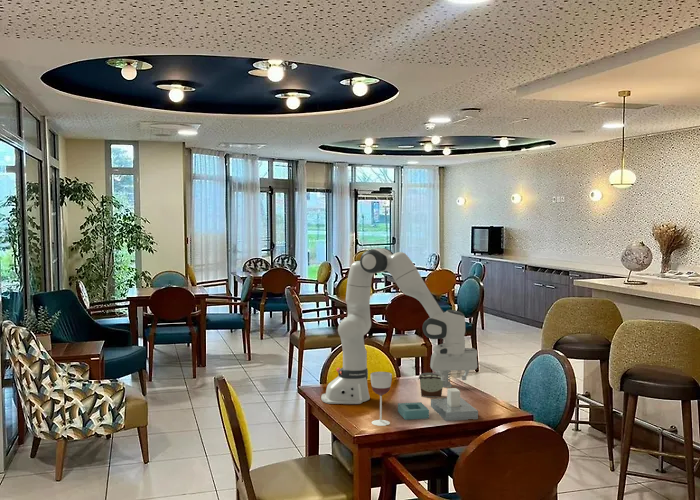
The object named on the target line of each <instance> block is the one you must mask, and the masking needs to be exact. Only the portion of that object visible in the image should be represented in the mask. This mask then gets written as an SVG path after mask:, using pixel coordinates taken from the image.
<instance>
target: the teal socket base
mask: <svg viewBox="0 0 700 500" xmlns="http://www.w3.org/2000/svg"><path fill="white" fill-rule="evenodd" d="M397 413H399V415H400V416H401V417H402V418H403V419H404V420H422V419H423V420H426V419H430V410H429V408H427V406H425V405H424V403H423V402H398V403H397Z"/></svg>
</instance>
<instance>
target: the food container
mask: <svg viewBox="0 0 700 500" xmlns="http://www.w3.org/2000/svg"><path fill="white" fill-rule="evenodd" d="M418 381H419V385H420V395H421V397H422V398H423V397H424V398H442V395H443V389H444V388H443V381H441V376H440V374H437V373H436V372H425V373H421V374H419V376H418Z"/></svg>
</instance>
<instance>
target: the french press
mask: <svg viewBox="0 0 700 500" xmlns="http://www.w3.org/2000/svg"><path fill="white" fill-rule="evenodd" d="M451 371H452V370H449V371H443V373H442V375H443V376H445V381H443V388H442V389H446V388H447V389H448V388H451V387H453V384H452V383H451ZM434 373H437V374H439V372H438V371H434Z"/></svg>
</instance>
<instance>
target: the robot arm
mask: <svg viewBox="0 0 700 500" xmlns="http://www.w3.org/2000/svg"><path fill="white" fill-rule="evenodd" d="M383 272H388V273H390V275H391V276H392V278H393V280H394V282H395V284H396V286H397V287H398V289H399V290H400V291H401V292H402V294H405V296H409V297H412V298H414V299H416V300H417V301H419V303H420V304H421V305H422V307H423V308H424V310H425V312H426V313H427V314H428V316H429V317H428V318H427V319H425V321H424V322H423V324H422V332H423V334H424V336H426V338H428V339H430V340H440V339H442V340H443V342H442V343H441V344H437V345H434V346H433V347H432V350H433V352H432V354H431V356H430V363H429V365H430V366H429V367H430V369H431V370H432V371H434V372H435V371H438V372H439V374H440V376H441V381H445V376H443V375H442V373H443V371H449V370H451V371H463V372H464V373H463V375H461V380H462V381H467V377H468V375H469V373H470V371H476V370H477V368H478V359H477V357H478V350H477V349H475V348H474V347H470V348H469V347H466V340H465V335H466V317H465V314H464V313H463V312H461V311H460V310H456V309H447V310H446V311H445V310H443V308H442V307H441V306H440V304H439V303H438V301H437V300H436V298H435V297H434V295H433V293H432V292H431V290H430V289H429V288H428V286H427V284H426V283H425V281H424V279H423V278H422V276H421V274H420V272H419V271H418V268H417V267H416V265H415V264H414V263H413V261H412V260H411V258H410V257H409V256H408V255H407V254H406V253H405V252H403V251H398V252H393V251H392V250H390V249H389V248H380V247H377V248H371V249H368V250H366V251H364V252H362V254H361V256H360V260H357V261H354V262H352V264H351V265H350V267H349V271H348V275H347V283H346V289H345V290H346V292H345V303H346V308H347V316H346V317H344V318H343V319H342V320H341V321H340V323H339V324H338V326H337V332H338V333H337V334H338V336H339V337H340V343H341V347H342V348H341V349H342V367H341V368H340V367H336V372H337V373H338V374H337V377H335V378H334V379H333V380H331V381H330V382H329V383H328V384H327V386H326V390H325V393H322V394H321V397H320V400H321V401H322V402H323V403H325V404H330V405H331V404H332V405H334V404H335V405H336V404H337V405H339V404H341V405H342V404H343V405H360V404H362V403H363V402H367V401H369V400H370V398H371V397H370V393H369V388H368V378H369V376H368V375H369V373H368V372H369V370H368V364H367V363H368V362H367V361H368V358H367V357H368V356H367V355H368V354H367V353H368V351H367V349H366V346H365V337H364V336H365V335H366V334H367V333H369V331H370V329H371V327H372V320H371V308H370V301H371V291H372V290H371V289H372V279H373V277H374V275H375V274H380V273H383Z"/></svg>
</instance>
